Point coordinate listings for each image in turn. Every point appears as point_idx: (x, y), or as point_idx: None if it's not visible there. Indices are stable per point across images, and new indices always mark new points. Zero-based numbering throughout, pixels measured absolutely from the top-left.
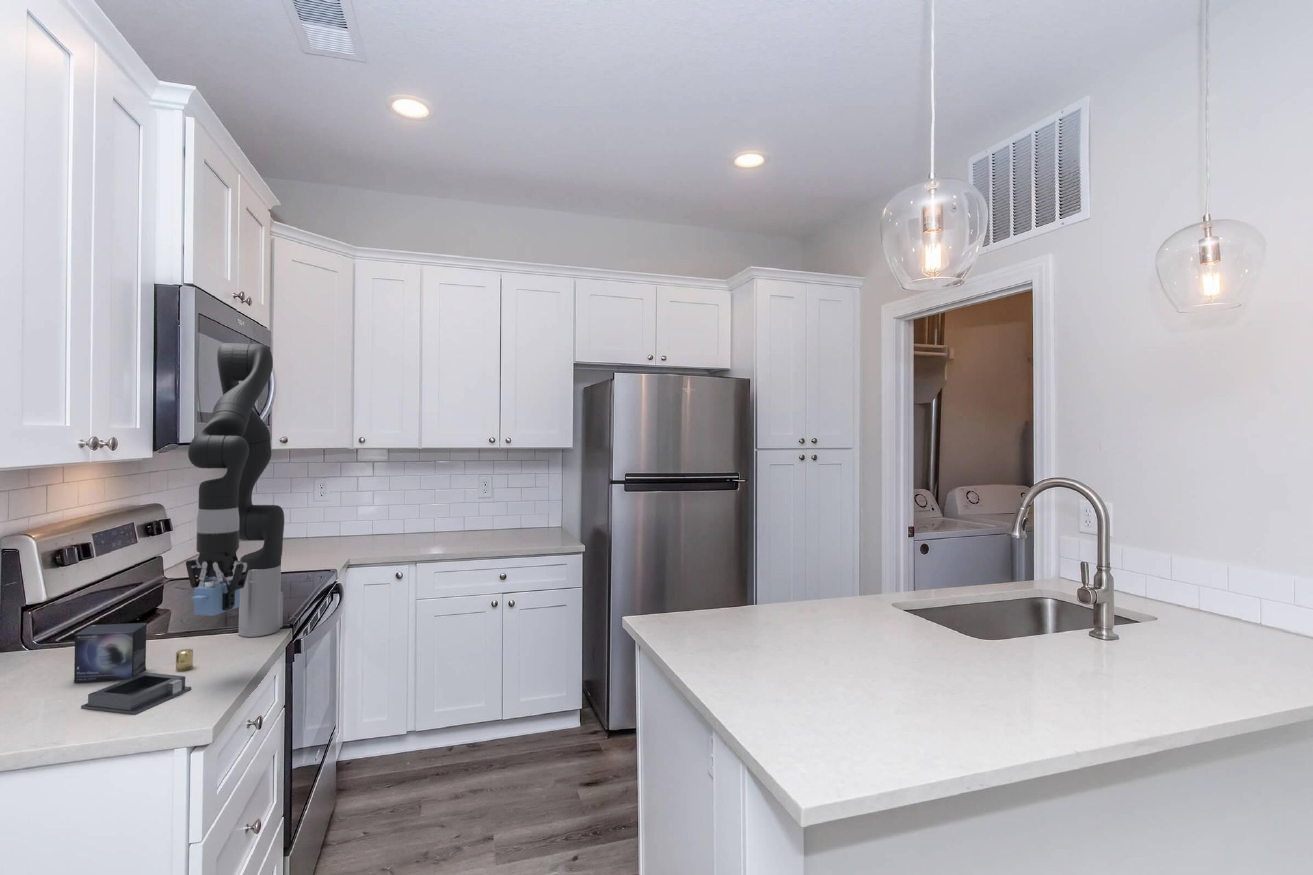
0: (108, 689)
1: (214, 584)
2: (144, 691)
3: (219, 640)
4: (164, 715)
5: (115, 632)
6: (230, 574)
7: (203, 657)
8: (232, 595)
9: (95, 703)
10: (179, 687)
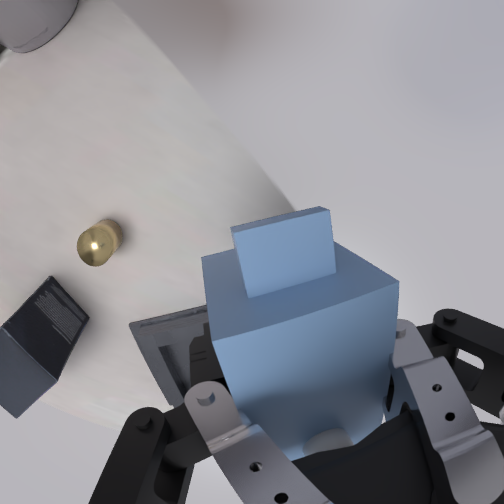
0: (182, 398)
1: (296, 418)
2: None
3: (8, 93)
4: None
5: (41, 395)
6: (427, 400)
7: (69, 169)
8: None
9: None
10: None
